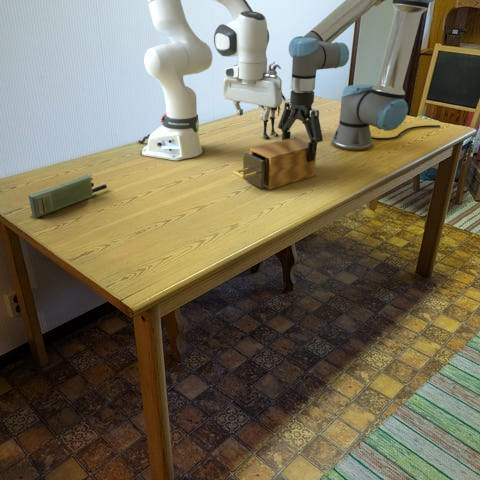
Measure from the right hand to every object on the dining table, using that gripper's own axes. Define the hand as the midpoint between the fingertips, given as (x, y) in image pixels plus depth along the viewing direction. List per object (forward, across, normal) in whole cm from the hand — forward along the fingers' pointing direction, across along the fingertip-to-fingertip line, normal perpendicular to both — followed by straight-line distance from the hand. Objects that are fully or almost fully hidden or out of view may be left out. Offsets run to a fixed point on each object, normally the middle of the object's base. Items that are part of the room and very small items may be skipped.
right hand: (297, 155), depth 171 cm
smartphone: (+6, +55, -53) cm, 77 cm away
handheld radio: (+6, +21, +71) cm, 75 cm away
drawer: (+5, 0, +13) cm, 14 cm away
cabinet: (+6, 0, +7) cm, 9 cm away
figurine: (+6, +36, -18) cm, 41 cm away
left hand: (-15, +4, +17) cm, 23 cm away
